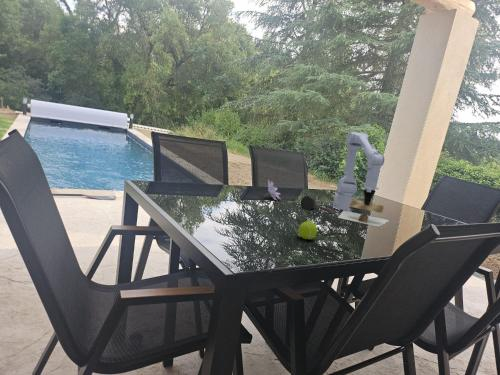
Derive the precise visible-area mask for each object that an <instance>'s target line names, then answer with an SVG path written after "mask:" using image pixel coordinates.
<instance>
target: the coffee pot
mask: <svg viewBox="0 0 500 375" xmlns="http://www.w3.org/2000/svg"><path fill="white" fill-rule="evenodd" d="M300 207H301V208H302V209H303V210H306V211H310V210H312V209H313V208H315V207H317V208H318V209H322V210H324V211H326V212H330V213H336V211H335V210H333V209H331V208H327V207H324V206H322V205H318V204H317V202H316V200H315V199H314V198H313V197H311V196H310V195H305V196H303V197H302V198H301V199H300Z"/></svg>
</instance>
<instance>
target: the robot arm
mask: <svg viewBox="0 0 500 375" xmlns="http://www.w3.org/2000/svg"><path fill="white" fill-rule="evenodd" d="M345 146H346V147H347V149H346V150H347V151H346V159H345V167H344V175H343V176H342V177H341V178H340V179H338V183H337V185H336V186H337V187H336V190H337V192H335V194H334V198H333V203H332V208H333V209H338V210H342V211H343V210H344V211H349V212H351V211H350V210H351V207H350V203H351V199H352V198H353V196H354V195H355V194H356V193H357V192H358V191H357V190H358V184H357V180H356V179H355V178H354V176H355V175H354V174H355V166H356V158H357V150H359V149H361V148H363V153H364V154H365V156H366V158H367V159H366V160H367V161H366V162H367V165H366V166H367V171H366V176H365V182H364V185H363V188H365V189H363V192H362V193H363V197H364V198H363V199H364V200H363V202H364V205H369V204H370V203H371V201H372V199H373V196H374V195H375V193H376V190H379V188H380V187H377V185H378V181H379V175H380V172H381V167H383V165H384V164H385V156H384V154H380V153H379V152H378V150H377V149H376V146H374V145H372V144H370V142H369V136H368V133H363V132H357V131H351V130H350V131H349V132H348V134H347V135H346V143H345ZM352 200H353V199H352Z"/></svg>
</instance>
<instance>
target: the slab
mask: <svg viewBox="0 0 500 375" xmlns="http://www.w3.org/2000/svg"><path fill="white" fill-rule="evenodd" d="M360 215H362V213H357V212H354V211H353V212H352V211H348V210H342V212H340V213H339V215H338V216H337V218H338V219H343V220H346V221H351V222H357V223H359V224H365V225H368V226H372V227H373V226H374V227H377V226H378V227H379V226H381V225H383V224H385V223H386V222H388V223H389V219H386V218H385V219H384V218H380V217H376V216H372V215H367V216H368V220H367V223H366V222H361V221H359V217H360ZM379 228H380V227H379Z"/></svg>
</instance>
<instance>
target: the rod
mask: <svg viewBox="0 0 500 375" xmlns="http://www.w3.org/2000/svg"><path fill="white" fill-rule="evenodd" d="M384 206H385V205H383V204H378V203H373V202H370V204H369V205H364V200H363V201H362V200H357V199H351V203H350V208H355V209H360V210H363V211H364V210H365V211H370V212H375V213H380V214H383V211H384Z"/></svg>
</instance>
